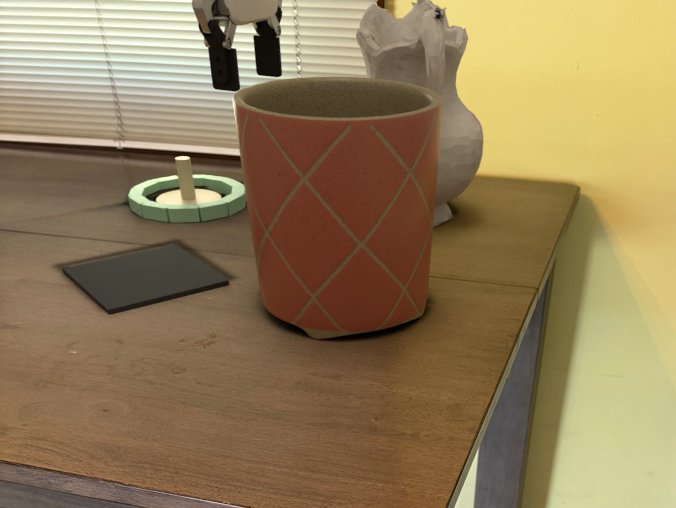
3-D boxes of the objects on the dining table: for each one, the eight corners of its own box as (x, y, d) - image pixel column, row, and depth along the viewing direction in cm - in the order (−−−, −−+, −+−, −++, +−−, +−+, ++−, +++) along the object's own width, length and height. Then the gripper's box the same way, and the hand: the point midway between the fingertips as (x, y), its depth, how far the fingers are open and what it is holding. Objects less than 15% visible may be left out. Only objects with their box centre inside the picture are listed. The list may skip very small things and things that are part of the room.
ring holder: (173, 218, 102) (165, 170, 98) (146, 201, 107) (137, 155, 104) (233, 206, 106) (227, 160, 102) (204, 190, 112) (198, 146, 108)
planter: (466, 321, 79) (483, 106, 66) (300, 361, 72) (282, 128, 59) (380, 261, 92) (380, 70, 79) (230, 290, 84) (203, 84, 71)
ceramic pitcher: (508, 241, 101) (546, 17, 86) (376, 249, 94) (392, 5, 78) (433, 196, 116) (454, -2, 101) (314, 200, 108) (317, -14, 93)
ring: (160, 230, 98) (157, 216, 97) (114, 199, 108) (111, 185, 107) (266, 208, 106) (265, 195, 105) (214, 181, 115) (212, 168, 114)
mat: (109, 314, 79) (108, 309, 79) (63, 272, 87) (62, 268, 87) (229, 284, 85) (229, 280, 85) (176, 248, 94) (175, 244, 93)
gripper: (241, -112, 83) (257, 68, 94) (147, -116, 71) (178, 92, 82) (302, -110, 81) (311, 74, 93) (216, -113, 69) (239, 99, 80)
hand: (248, 82), depth 87 cm, fingers open, 9 cm apart
